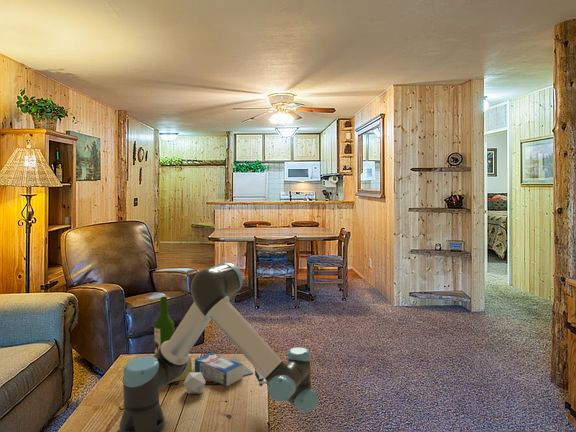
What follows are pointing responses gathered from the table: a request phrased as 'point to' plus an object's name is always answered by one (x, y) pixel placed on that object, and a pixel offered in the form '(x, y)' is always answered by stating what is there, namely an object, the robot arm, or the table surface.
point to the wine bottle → (163, 325)
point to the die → (194, 383)
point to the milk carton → (219, 369)
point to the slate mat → (245, 369)
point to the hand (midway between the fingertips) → (254, 363)
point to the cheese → (185, 372)
